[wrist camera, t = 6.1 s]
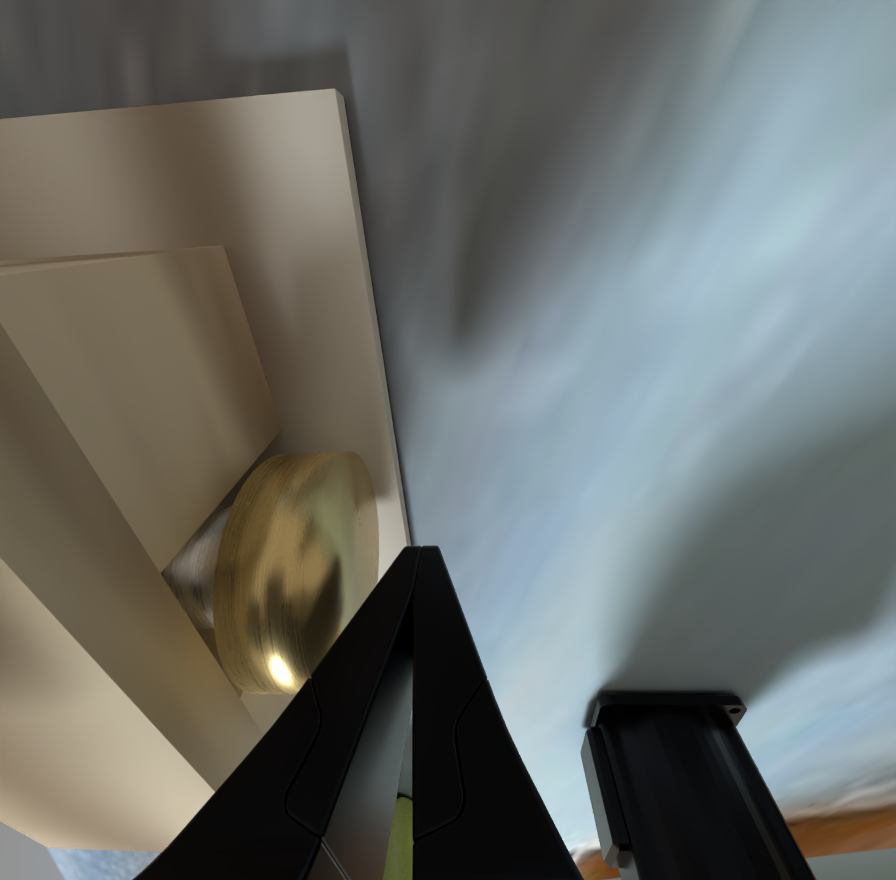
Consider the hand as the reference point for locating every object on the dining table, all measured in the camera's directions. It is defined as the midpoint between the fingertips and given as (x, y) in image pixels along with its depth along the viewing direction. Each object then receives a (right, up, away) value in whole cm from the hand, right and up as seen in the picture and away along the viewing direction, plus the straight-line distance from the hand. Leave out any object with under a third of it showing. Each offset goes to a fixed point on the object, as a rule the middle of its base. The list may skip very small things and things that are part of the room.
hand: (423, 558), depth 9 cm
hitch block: (-5, +2, +3) cm, 7 cm away
